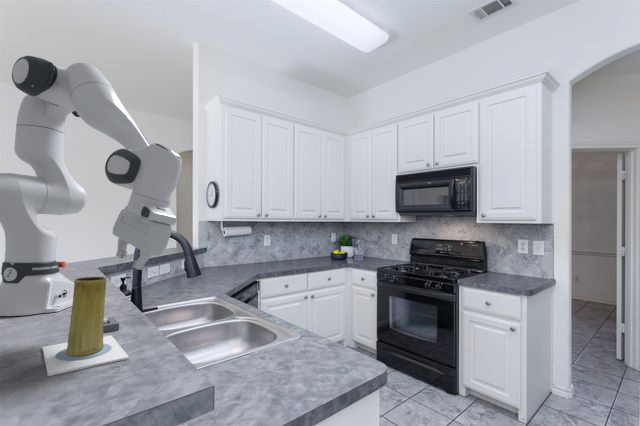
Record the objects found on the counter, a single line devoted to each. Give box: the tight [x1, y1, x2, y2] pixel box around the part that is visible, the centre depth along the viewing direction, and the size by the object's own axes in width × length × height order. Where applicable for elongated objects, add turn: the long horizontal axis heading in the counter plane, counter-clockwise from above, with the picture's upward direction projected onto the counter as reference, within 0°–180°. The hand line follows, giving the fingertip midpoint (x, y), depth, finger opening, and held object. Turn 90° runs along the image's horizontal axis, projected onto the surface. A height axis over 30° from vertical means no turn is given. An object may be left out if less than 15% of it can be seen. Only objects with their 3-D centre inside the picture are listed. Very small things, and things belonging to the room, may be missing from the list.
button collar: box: [103, 316, 120, 333], centre depth 79 cm, size 7×7×2 cm
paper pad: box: [41, 335, 130, 377], centre depth 64 cm, size 16×12×1 cm
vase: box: [66, 276, 107, 356], centre depth 64 cm, size 6×6×14 cm
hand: (128, 262), depth 78 cm, fingers open, 8 cm apart
